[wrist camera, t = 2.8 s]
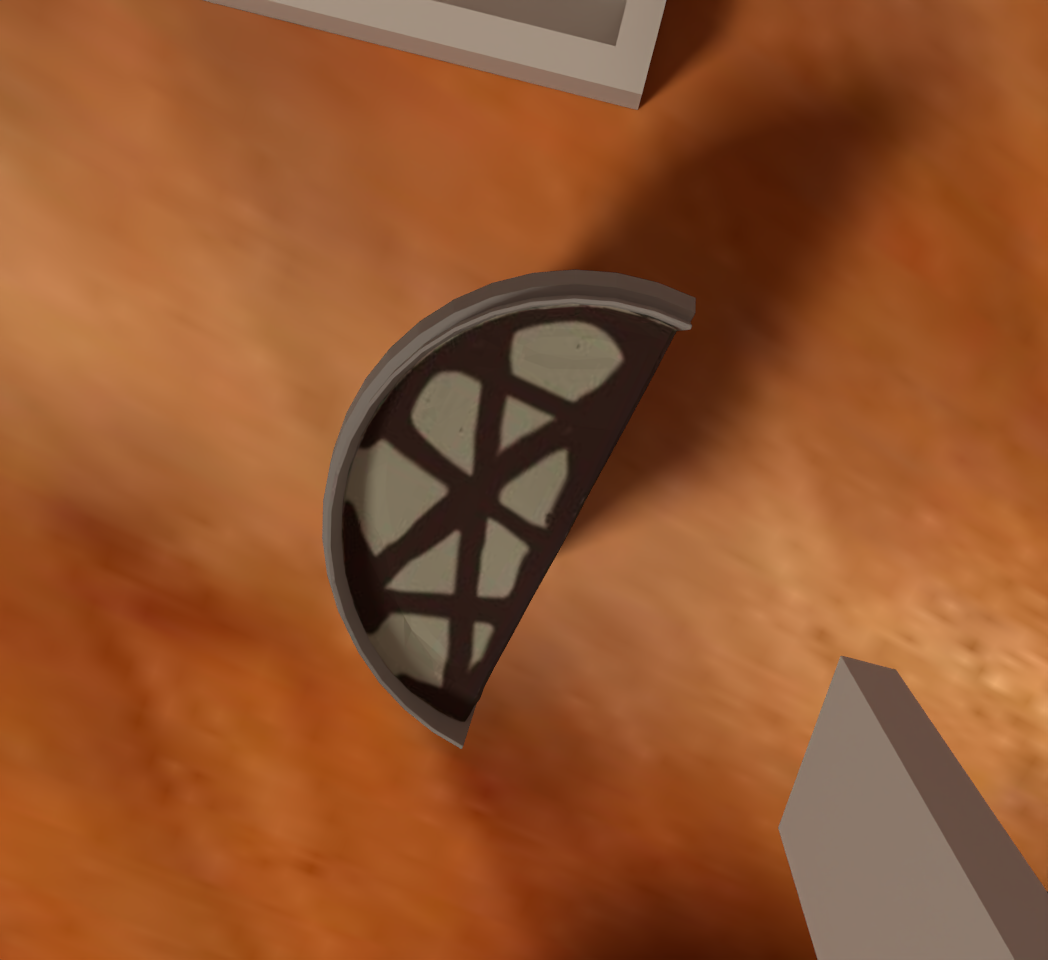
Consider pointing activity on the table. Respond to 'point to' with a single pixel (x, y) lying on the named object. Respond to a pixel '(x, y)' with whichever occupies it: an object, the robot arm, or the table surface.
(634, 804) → the table surface
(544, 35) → the tray
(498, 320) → the grey brown half-round piece
